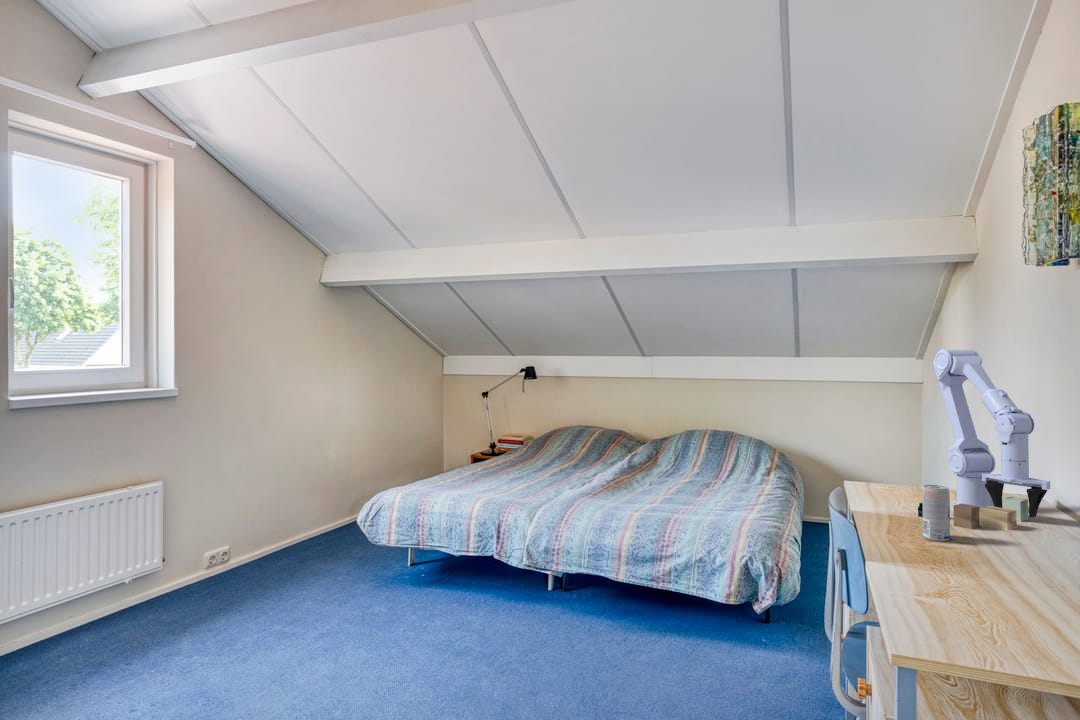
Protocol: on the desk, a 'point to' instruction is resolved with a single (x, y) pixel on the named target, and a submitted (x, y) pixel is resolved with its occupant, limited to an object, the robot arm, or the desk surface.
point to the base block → (998, 517)
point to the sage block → (1017, 507)
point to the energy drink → (936, 513)
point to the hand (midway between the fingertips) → (1015, 513)
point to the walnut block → (966, 516)
